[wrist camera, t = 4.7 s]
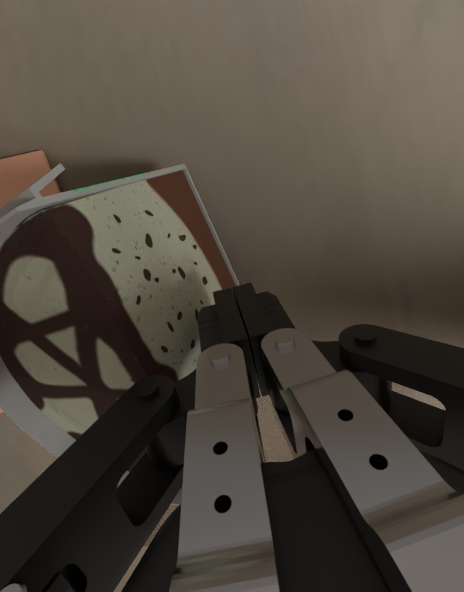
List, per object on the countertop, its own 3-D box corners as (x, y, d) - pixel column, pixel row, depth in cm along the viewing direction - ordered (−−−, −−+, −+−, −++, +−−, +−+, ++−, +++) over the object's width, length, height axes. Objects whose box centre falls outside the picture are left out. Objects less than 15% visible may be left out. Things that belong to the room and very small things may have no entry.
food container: (68, 181, 17) (-160, 270, 9) (169, 130, 15) (-3, 182, 6) (178, 358, 22) (104, 521, 14) (265, 340, 20) (238, 519, 12)
